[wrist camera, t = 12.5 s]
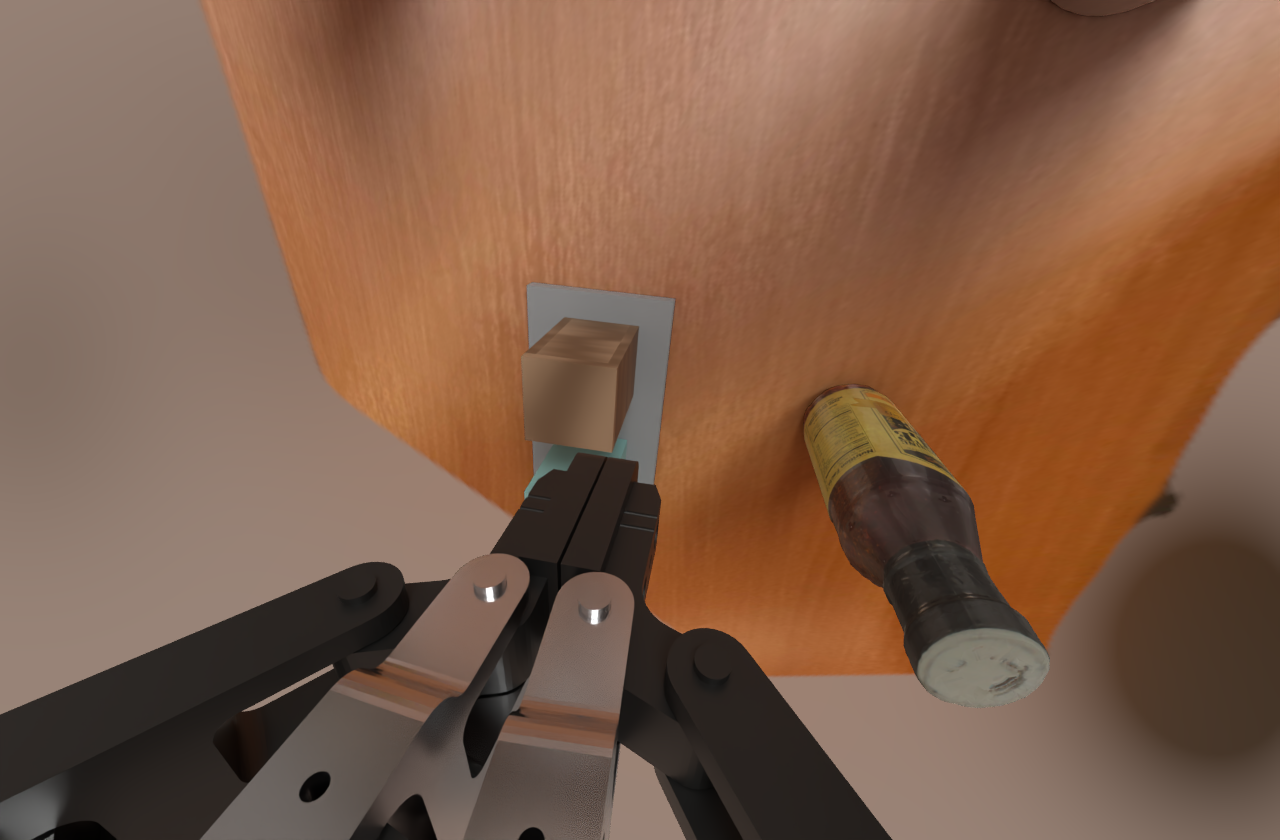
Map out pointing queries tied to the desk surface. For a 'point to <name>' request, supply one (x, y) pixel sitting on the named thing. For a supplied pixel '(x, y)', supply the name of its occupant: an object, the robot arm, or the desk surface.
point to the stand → (650, 373)
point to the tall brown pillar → (579, 383)
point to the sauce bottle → (919, 549)
